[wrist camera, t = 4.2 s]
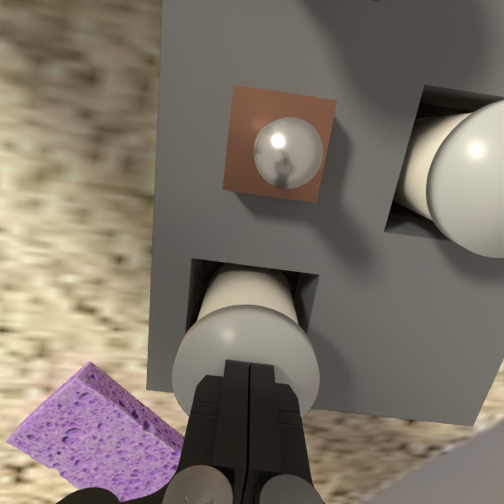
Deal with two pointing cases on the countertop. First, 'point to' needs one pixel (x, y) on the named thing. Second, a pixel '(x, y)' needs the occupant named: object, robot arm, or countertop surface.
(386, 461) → the countertop surface
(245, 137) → the brown boxy piece
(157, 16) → the countertop surface
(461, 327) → the mount
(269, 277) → the knob
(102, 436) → the sponges
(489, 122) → the knob side
